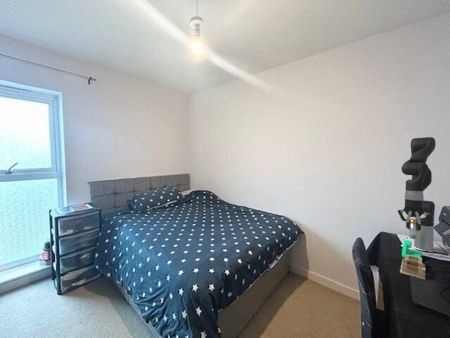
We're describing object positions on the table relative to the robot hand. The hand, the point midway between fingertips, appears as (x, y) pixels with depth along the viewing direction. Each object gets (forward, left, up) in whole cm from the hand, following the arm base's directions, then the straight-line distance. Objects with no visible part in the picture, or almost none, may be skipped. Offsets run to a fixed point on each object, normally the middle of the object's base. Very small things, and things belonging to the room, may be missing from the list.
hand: (413, 229), depth 111 cm
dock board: (0, 0, -22) cm, 22 cm away
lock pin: (0, 0, -5) cm, 5 cm away
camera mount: (-18, -1, -23) cm, 29 cm away
